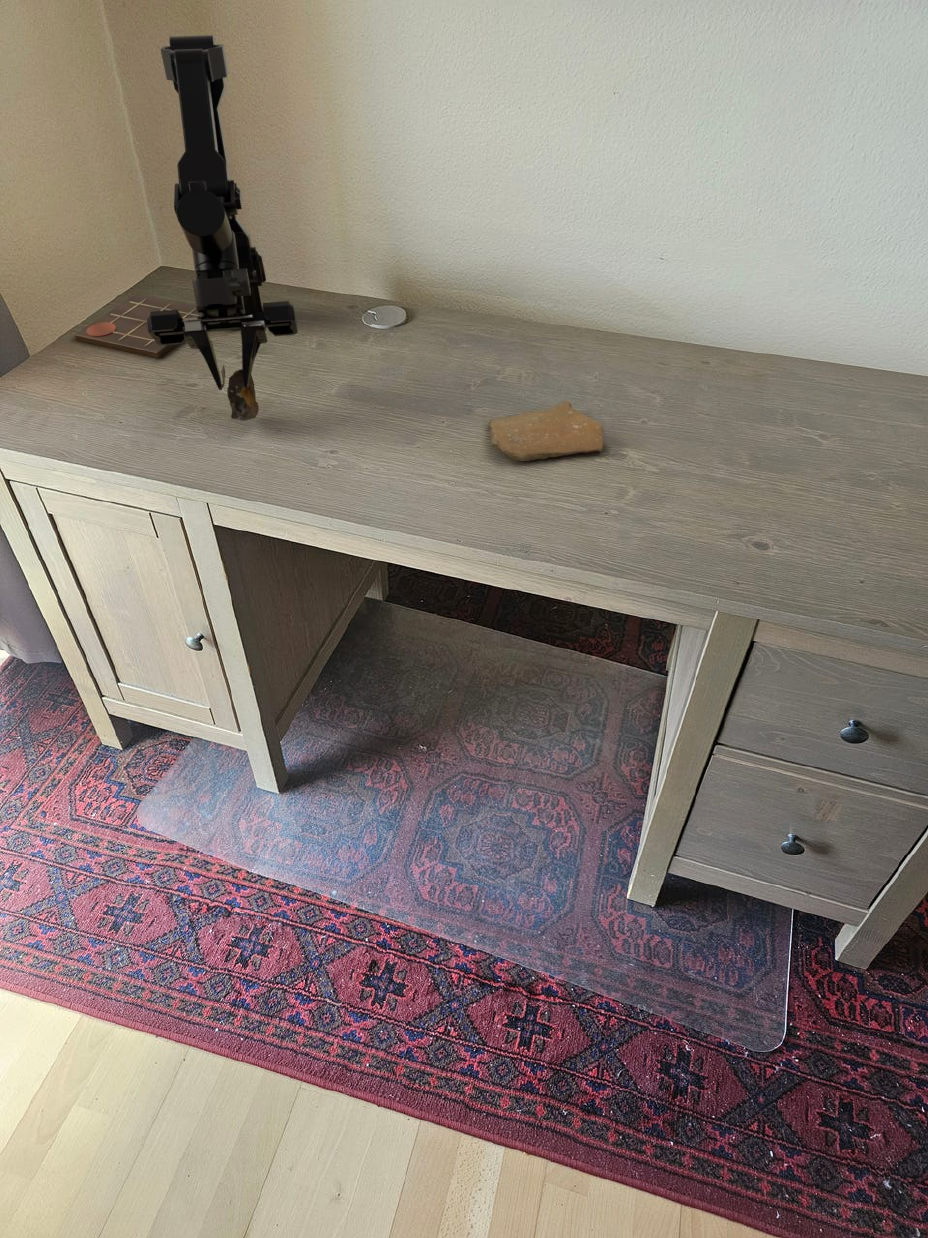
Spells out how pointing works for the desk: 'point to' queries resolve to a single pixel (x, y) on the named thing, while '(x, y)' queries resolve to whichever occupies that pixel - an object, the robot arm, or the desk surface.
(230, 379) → the rock
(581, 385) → the desk surface
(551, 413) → the stone
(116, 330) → the board
